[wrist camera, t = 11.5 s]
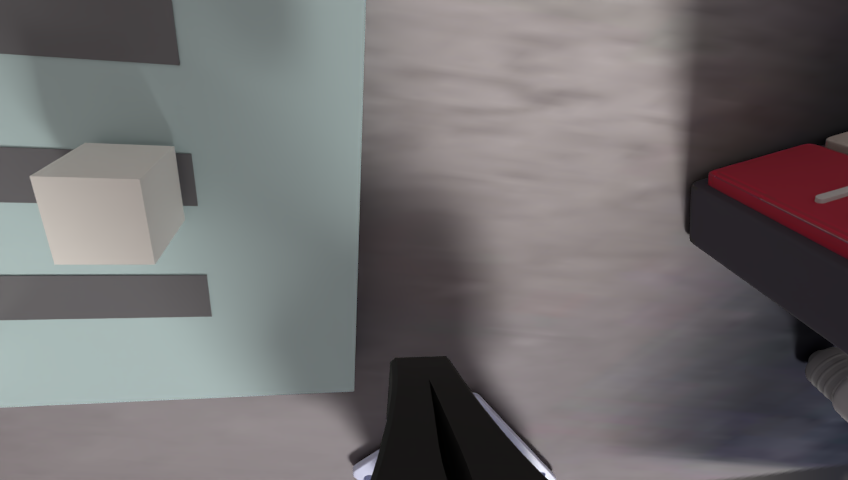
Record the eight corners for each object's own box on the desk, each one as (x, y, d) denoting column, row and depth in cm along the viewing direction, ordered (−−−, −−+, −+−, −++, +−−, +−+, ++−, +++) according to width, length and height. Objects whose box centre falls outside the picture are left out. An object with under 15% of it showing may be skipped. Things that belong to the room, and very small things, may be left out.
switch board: (363, -26, 16) (366, -28, 14) (353, 360, 23) (354, 392, 21) (-429, -106, 12) (-558, -122, 11) (-155, 378, 20) (-205, 417, 18)
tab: (174, 146, 15) (139, 179, 13) (184, 219, 16) (154, 264, 14) (85, 143, 15) (28, 176, 12) (101, 218, 16) (54, 264, 13)
